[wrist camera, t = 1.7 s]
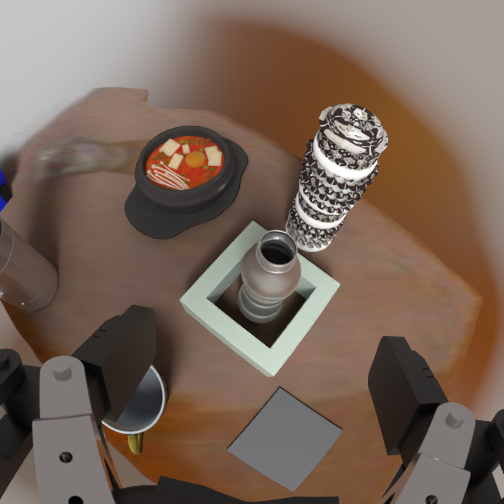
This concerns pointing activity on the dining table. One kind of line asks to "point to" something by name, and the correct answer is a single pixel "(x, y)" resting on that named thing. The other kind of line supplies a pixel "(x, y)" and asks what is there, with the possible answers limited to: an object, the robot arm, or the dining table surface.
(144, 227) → the casserole
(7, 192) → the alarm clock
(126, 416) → the ceramic cup
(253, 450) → the rubber mat
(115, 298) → the dining table surface
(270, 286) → the plastic bottle
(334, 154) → the black and white cylinder
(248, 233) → the holder block
